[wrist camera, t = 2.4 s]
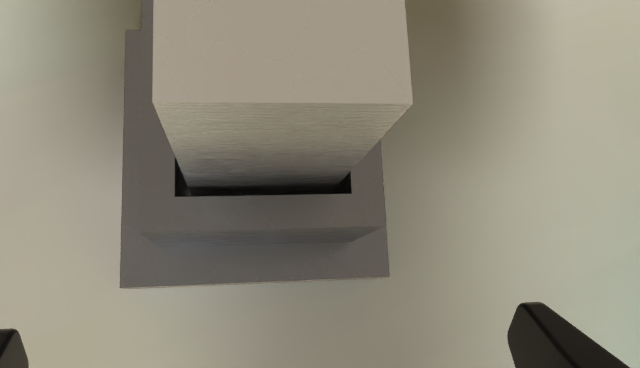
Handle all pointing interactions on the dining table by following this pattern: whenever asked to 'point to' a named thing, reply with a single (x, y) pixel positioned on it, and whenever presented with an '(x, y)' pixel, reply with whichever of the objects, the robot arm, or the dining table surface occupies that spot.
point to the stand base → (233, 211)
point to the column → (277, 89)
